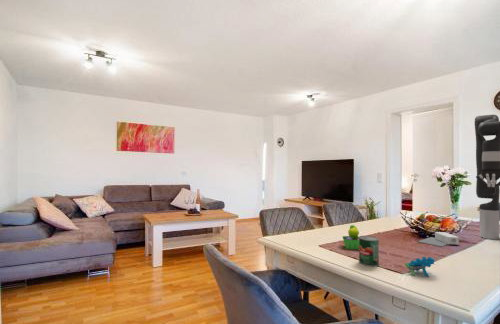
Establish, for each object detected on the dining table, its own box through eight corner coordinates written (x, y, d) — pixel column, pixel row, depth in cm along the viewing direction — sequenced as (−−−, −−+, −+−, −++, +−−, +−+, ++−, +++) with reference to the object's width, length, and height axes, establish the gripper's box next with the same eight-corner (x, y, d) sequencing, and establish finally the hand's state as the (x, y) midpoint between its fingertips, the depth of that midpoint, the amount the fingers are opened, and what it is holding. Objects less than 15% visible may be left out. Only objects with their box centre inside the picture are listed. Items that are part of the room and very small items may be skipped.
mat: (431, 237, 166) (431, 237, 166) (454, 242, 156) (454, 241, 157) (417, 241, 156) (417, 241, 156) (441, 247, 146) (441, 246, 146)
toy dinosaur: (428, 265, 112) (436, 253, 105) (436, 280, 108) (445, 268, 101) (401, 268, 113) (407, 256, 106) (407, 282, 109) (414, 271, 102)
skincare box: (459, 245, 149) (445, 239, 161) (459, 237, 149) (445, 232, 161) (447, 244, 150) (434, 238, 162) (447, 236, 150) (434, 231, 162)
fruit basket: (343, 249, 140) (343, 227, 140) (342, 244, 149) (342, 223, 149) (367, 251, 137) (367, 228, 138) (364, 246, 146) (364, 225, 146)
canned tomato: (379, 262, 121) (379, 237, 121) (377, 267, 114) (377, 241, 114) (360, 259, 125) (360, 234, 125) (357, 264, 118) (357, 238, 118)
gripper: (511, 160, 137) (511, 195, 136) (477, 161, 148) (478, 193, 147) (506, 160, 133) (507, 195, 132) (473, 160, 143) (473, 193, 143)
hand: (491, 194), depth 140 cm, fingers closed
